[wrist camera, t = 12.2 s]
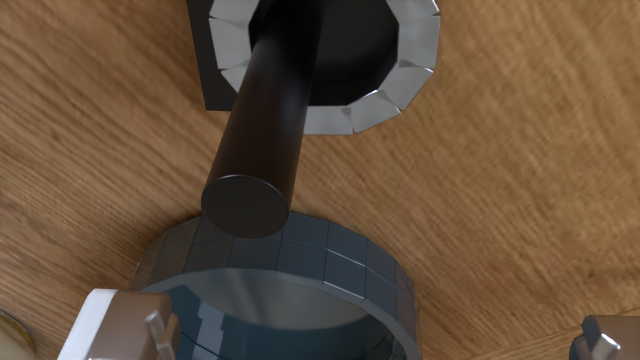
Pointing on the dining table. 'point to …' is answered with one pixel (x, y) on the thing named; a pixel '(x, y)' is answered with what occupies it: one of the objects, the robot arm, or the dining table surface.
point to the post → (279, 99)
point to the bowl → (283, 293)
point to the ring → (341, 97)
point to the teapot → (15, 340)
